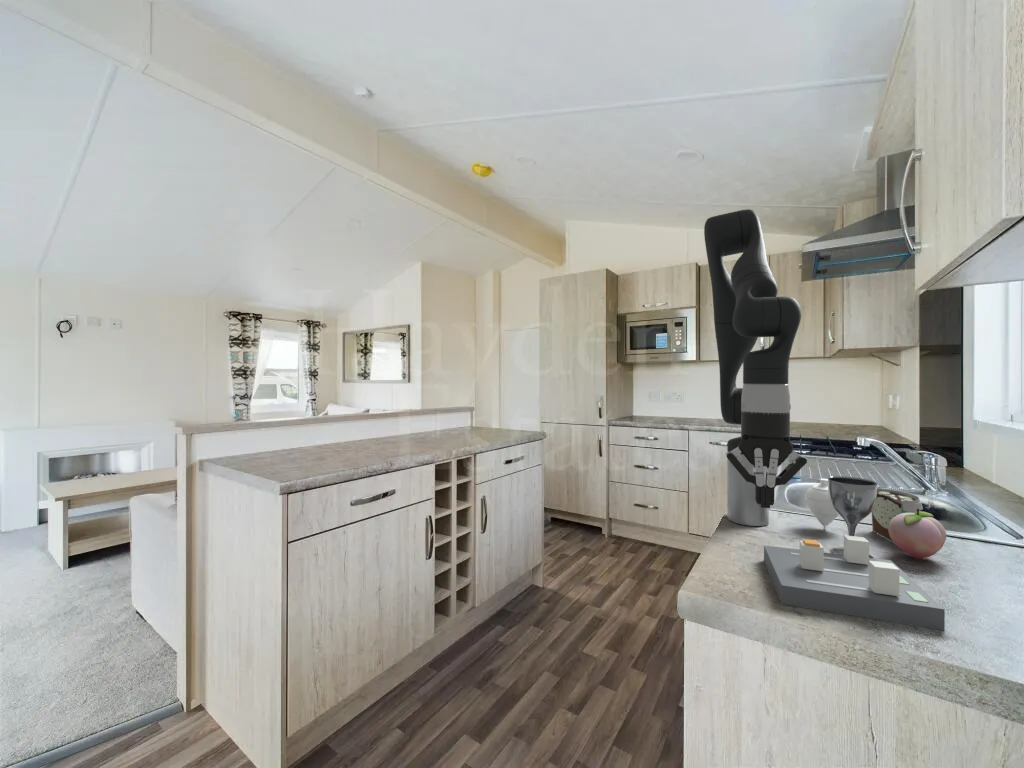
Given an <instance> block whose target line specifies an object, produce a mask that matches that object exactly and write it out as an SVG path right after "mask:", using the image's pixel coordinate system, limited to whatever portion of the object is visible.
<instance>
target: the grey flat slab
mask: <svg viewBox="0 0 1024 768" xmlns="http://www.w3.org/2000/svg"><path fill="white" fill-rule="evenodd" d="M869 561H877V562H885V563H893V564H894V565H895V566H896V567H897V568H898V569H899V570H900V573H899V596H893V595H886V594H879V593H874V592H873V590H872V589H871V588H870V587H869V565H867V564H859V563H851V562H848V561H847V560H846V559H845V558H844V555H841V554H833V553H831V552H824V571H817V570H809V569H803V568H802V567H801V565H800V548H799V549H797V548H790V547H781V546H773V545H763V562H764V565H765V566H766V570H767V572H768V574H769V576H770V579H771V582H772V584H773V587H774V588H775V592H776V593H777V596H778V599H779V601H780V603H781V605H786V606H792V607H799V608H805V609H811V610H817V611H822V612H830V613H836V614H842V615H848V616H854V617H859V618H860V617H861V618H866V619H873V620H879V621H884V622H891V623H896V624H897V623H898V624H904V625H910V626H915V627H922V628H928V629H934V630H939V631H941V630H942V631H945V622H946V621H945V618H946V616H945V614H946V612H945V608H944V607H943V606H942V605H940V604H939V603H938V602H937V601H936V600H935V599H934V598H933V597H932V596H931V595H930V594H929V593H927V592H926V591H925V590H924V589H923V588H922V587H921V586H920V585H918V584H917V583H916V582H915V581H914V580H913V579H912V578H911V577H910V576H908V575H907V574H906V573H905V572H904V571H903V570H902V569H901V568H900V567H899V566H897V564H895V563H894V562H893V561H892V560H890V559H883V558H882V559H881V558H869Z"/></svg>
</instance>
